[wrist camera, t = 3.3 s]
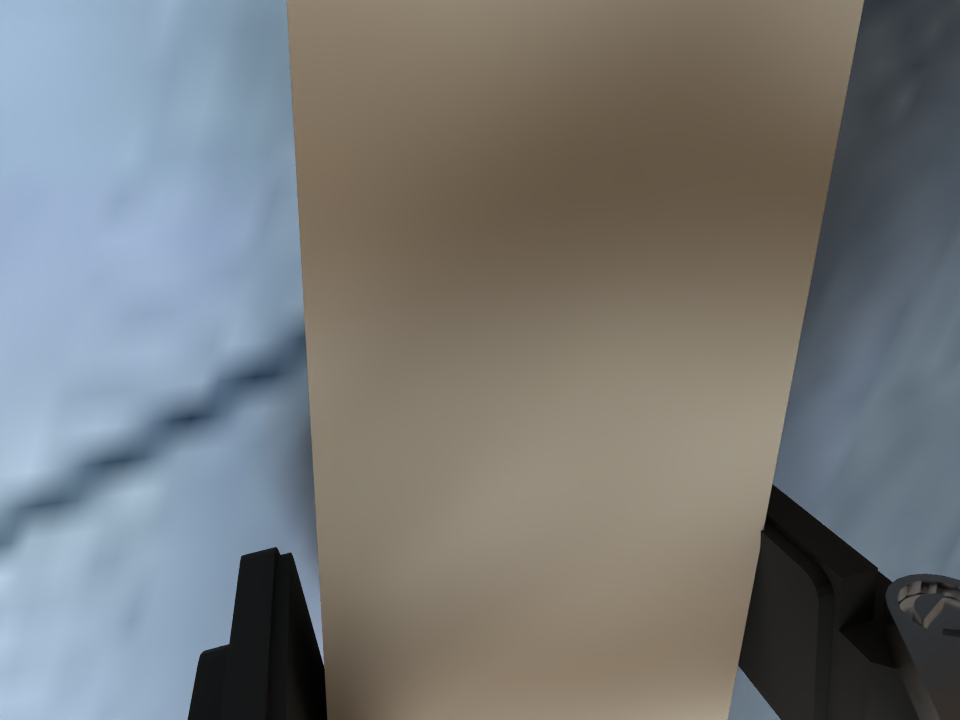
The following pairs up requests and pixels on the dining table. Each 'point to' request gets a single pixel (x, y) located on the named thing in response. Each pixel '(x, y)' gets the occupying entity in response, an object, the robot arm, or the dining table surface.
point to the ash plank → (552, 338)
